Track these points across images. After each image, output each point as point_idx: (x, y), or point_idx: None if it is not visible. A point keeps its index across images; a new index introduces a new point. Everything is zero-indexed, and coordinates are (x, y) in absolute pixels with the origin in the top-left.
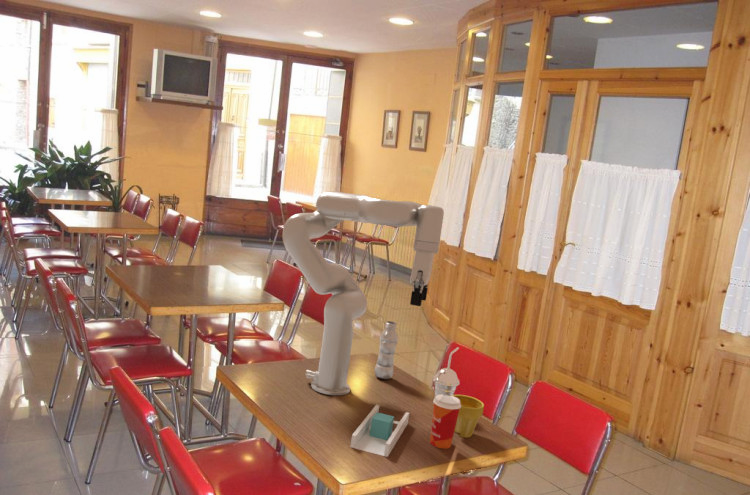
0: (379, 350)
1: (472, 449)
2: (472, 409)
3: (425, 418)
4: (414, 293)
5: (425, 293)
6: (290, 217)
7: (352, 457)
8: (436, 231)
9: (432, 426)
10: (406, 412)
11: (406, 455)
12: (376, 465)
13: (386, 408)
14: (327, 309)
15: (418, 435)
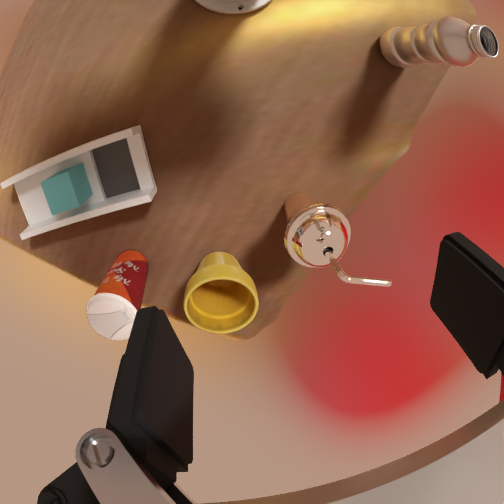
0: (422, 25)
1: (172, 300)
2: (193, 324)
3: (233, 197)
4: (108, 428)
5: (460, 339)
6: None
7: (8, 188)
8: None
9: (107, 273)
10: (148, 196)
11: (68, 238)
12: (18, 223)
13: (219, 113)
14: None
15: (144, 220)
